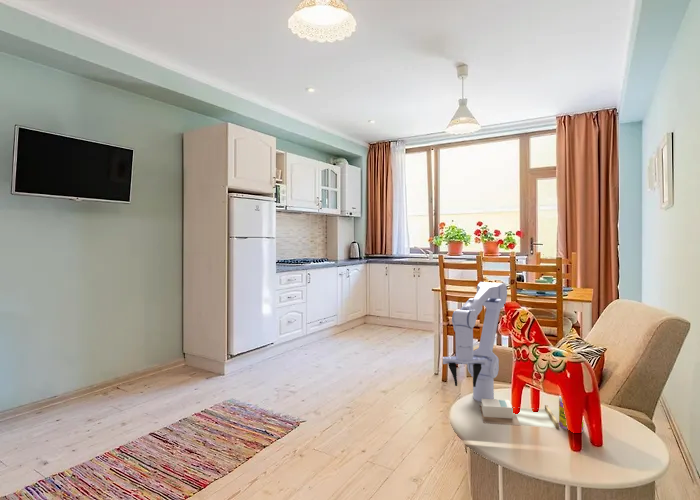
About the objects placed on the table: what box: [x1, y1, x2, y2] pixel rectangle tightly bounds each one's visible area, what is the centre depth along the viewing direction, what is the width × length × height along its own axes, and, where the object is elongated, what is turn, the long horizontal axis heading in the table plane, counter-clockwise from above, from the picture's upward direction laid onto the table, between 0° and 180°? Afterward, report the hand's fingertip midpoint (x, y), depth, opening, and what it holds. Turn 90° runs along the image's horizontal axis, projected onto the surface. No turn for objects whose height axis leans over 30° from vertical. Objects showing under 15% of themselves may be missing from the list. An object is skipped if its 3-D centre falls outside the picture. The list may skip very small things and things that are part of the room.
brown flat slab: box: [479, 404, 560, 429], centre depth 135 cm, size 14×22×2 cm, turn 78°
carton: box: [481, 398, 514, 419], centre depth 138 cm, size 6×9×4 cm
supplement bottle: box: [558, 395, 584, 432], centre depth 127 cm, size 7×7×13 cm
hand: (465, 385), depth 140 cm, fingers open, 5 cm apart
